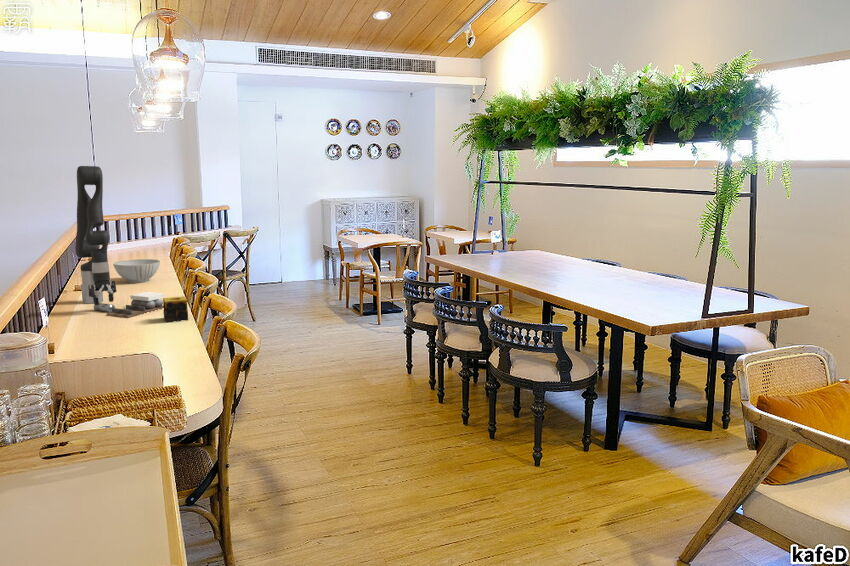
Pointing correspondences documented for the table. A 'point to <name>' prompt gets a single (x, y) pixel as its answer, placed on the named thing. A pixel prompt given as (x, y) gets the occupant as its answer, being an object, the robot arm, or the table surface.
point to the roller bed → (137, 308)
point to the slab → (147, 296)
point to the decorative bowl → (137, 269)
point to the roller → (104, 307)
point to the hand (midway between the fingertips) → (103, 303)
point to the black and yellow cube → (175, 309)
